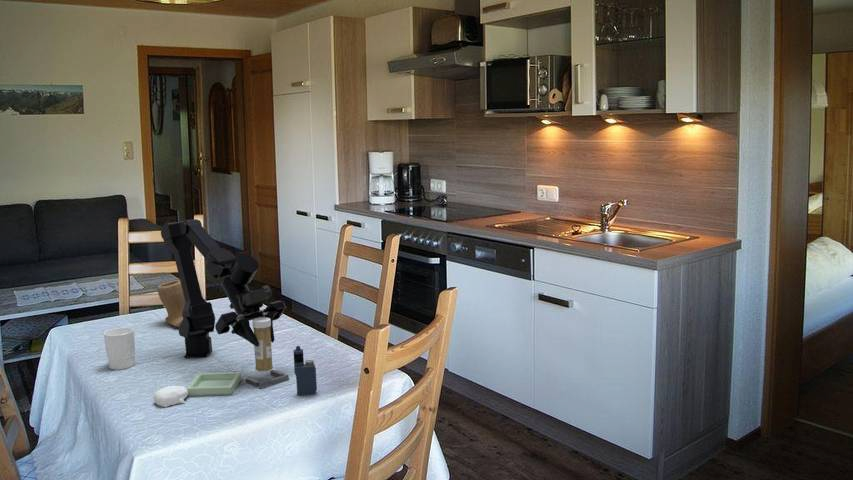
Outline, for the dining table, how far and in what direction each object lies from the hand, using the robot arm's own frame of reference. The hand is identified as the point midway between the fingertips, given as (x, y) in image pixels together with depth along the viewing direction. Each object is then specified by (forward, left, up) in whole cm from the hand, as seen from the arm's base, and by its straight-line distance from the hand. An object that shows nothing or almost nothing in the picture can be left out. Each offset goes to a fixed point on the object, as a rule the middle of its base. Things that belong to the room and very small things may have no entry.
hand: (265, 343), depth 189 cm
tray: (-13, -3, -10) cm, 17 cm away
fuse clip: (-1, +1, -10) cm, 10 cm away
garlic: (-21, -11, -11) cm, 26 cm away
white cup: (-44, +17, -10) cm, 48 cm away
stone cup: (-40, +58, -10) cm, 71 cm away
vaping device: (+11, -9, -10) cm, 18 cm away
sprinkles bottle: (-1, +1, -7) cm, 7 cm away
